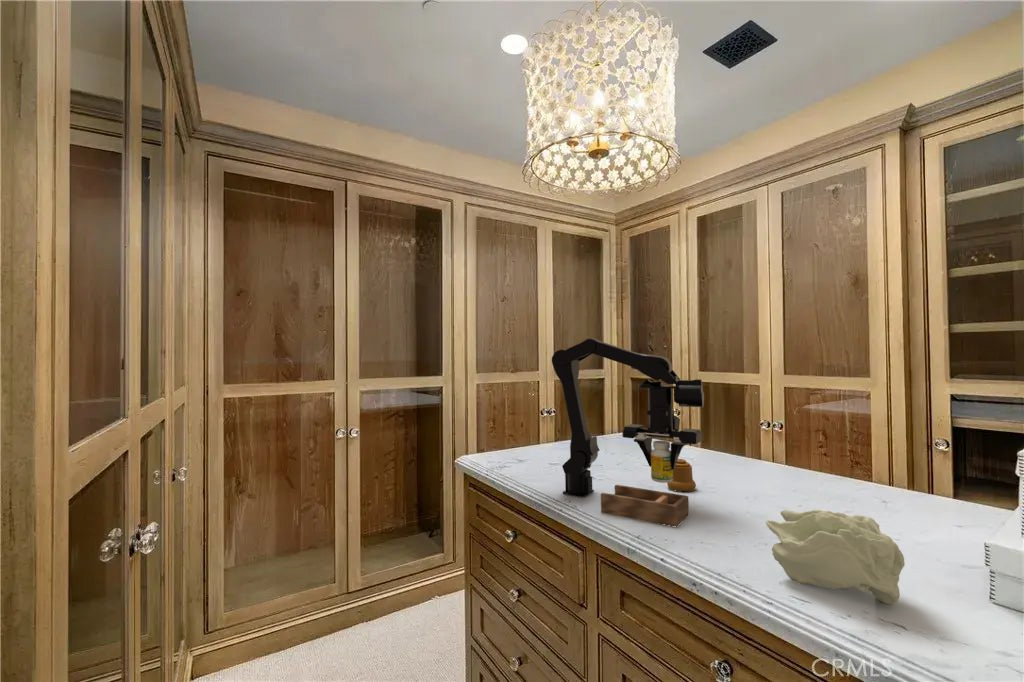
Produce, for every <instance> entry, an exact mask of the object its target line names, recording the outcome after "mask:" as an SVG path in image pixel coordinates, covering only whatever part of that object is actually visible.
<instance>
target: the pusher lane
mask: <svg viewBox="0 0 1024 682" xmlns="http://www.w3.org/2000/svg"><path fill="white" fill-rule="evenodd" d="M662 495H664V496H668V504H666V503H660V502H655V501H656V500H657V499H658V498H660V497H661V496H662ZM689 505H690V504H689V496H688V495H685V494H679V493H672V492H666V491H660V490H659V491H658V490H653V489H647V488H640V487H639V488H638V487H634V486H628V485H621V484H615V485H614V493H607V492H601V493H600V512H601V513H603V514H607V515H612V516H617V517H622V518H627V519H633V520H638V521H642V522H648V523H652V524H653V523H654V524H657V523H659V524H658V525H662V524H665V525H664V526H667V525H670V526H669V527H672V526H676V527H675V528H678V527H677V526H678V525H679V524H680V523H681V522H682V521H683V520H684V519H685V518H686V517H687V516H688V515H689V516H690V510H689V509H690V506H689ZM689 516H688V517H689ZM688 517H687V518H688ZM687 518H686V519H687ZM686 519H685V520H686ZM685 520H684V521H685ZM684 521H683V522H684ZM683 522H682V523H683ZM682 523H681V524H682ZM681 524H680V525H681ZM680 525H679V526H680Z"/></svg>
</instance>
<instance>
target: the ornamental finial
mask: <svg viewBox="0 0 1024 682" xmlns="http://www.w3.org/2000/svg"><path fill="white" fill-rule="evenodd" d="M693 477H694V476H693V466H692V465H691V464H690V463H689V462H688V461H687V460H686V459H683V458H678V460H677V463H676V466H675V469H674V470H673V481H672V482H667V483H666V485H667V488H668V489H670V490H671V489H672V490H671V491H673V490H676V491H675V492H678V491H691V492H693V491H694V490H695V489H696V487H697V484H696V482H695V480H694V478H693ZM692 490H693V491H692Z"/></svg>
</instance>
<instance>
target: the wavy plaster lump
mask: <svg viewBox="0 0 1024 682" xmlns="http://www.w3.org/2000/svg"><path fill="white" fill-rule="evenodd" d="M780 515H781V516H782V518H783V520H784V521H782V522H778V521H777V522H776V521H774V520H767V521H765V525H766V526H767V528H768V529H769V530H770V531H771V532H772V533H773V534H774V535H775V536H777V538H778V539H779V541H780V542H777V543H774V544H773V545H772V546H771V547H772V548H771V551H772V556H773V558H774V560H775V561H777V562H778V564H779V565H780V567H782V569H783V571H784V572H785V574H786V576H787V577H788V578H789V579H790V580H791V581H797V582H798V583H800V584H803V585H811V584H812V585H814V586H820V587H823V588H825V589H833V590H845V589H846V590H847V589H851V588H855V589H858V590H860V591H862V592H864V593H867V592H869V591H870V592H871V594H872V595H873V596H874V597H875V598H876V599H877V600H879V601H880V602H882V603H884V604H886V605H892V604H895V603H897V602H898V601H899V600H900V595H901V594H900V587H899V581H900V575H901V571H902V570H903V569H904V567H905V564H906V563H905V557H904V554H903V553H902V551H901V550H900V548H899V546H898V544H897V543H896V542H895V541H894V540H893V539H892V538H891V537H890V536H889V535H887V534H884V533H882V531H881V530H880V525H879V524H878V523H877V522H876V520H875V519H874V518H872V517H869V516H865V515H860V514H855V515H853V516H851V515H847V514H845V513H843V512H834V511H830V510H823V509H822V510H821V509H813V510H809V511H804V512H803V511H802V512H799V511H794V510H790V509H789V510H788V509H784V510H781V511H780Z"/></svg>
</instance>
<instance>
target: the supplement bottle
mask: <svg viewBox="0 0 1024 682" xmlns="http://www.w3.org/2000/svg"><path fill="white" fill-rule="evenodd" d="M652 443H653V445H652V447H653V448H654V449H652V451H651V467H650V472H651V473H650V475H651V477H650V478H651V481H654V482H657V483H662V484H663V483H664V484H667V482H672V481H673V470H672V467H671V443H670V441H667V440H654V441H652Z"/></svg>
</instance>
